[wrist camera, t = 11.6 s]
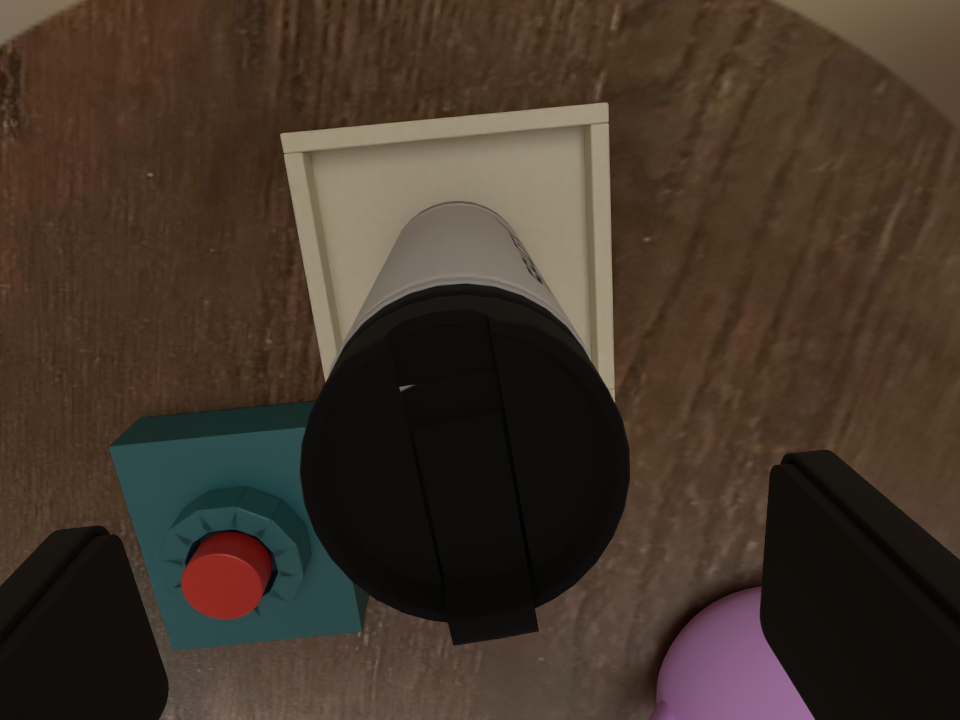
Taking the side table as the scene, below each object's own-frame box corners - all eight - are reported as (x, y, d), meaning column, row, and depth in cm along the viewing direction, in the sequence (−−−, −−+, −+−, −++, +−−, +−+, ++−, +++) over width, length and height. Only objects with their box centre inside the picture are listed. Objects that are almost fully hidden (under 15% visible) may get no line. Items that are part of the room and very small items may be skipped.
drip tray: (292, 133, 29) (279, 133, 27) (597, 104, 29) (608, 101, 27) (341, 412, 33) (334, 432, 31) (604, 386, 33) (615, 404, 31)
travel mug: (407, 350, 32) (340, 674, 13) (377, 213, 29) (242, 361, 10) (535, 327, 31) (657, 622, 13) (514, 188, 29) (624, 293, 10)
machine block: (139, 417, 33) (87, 465, 28) (335, 398, 33) (315, 443, 28) (195, 608, 37) (157, 678, 32) (369, 591, 37) (357, 658, 32)
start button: (187, 534, 30) (171, 557, 28) (264, 526, 30) (253, 549, 29) (204, 597, 31) (191, 623, 30) (279, 590, 31) (269, 615, 30)
